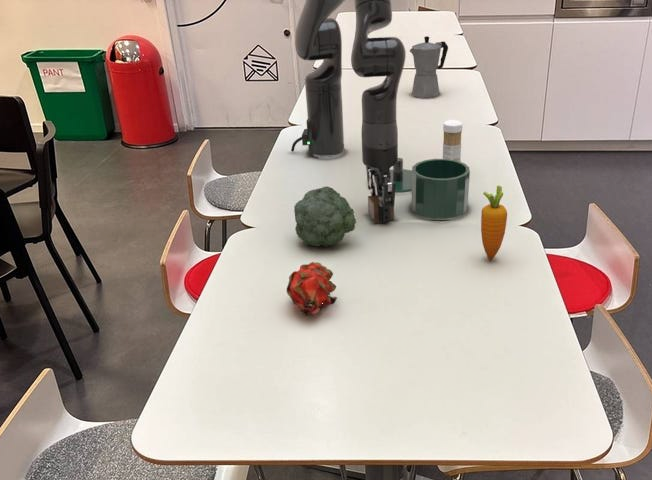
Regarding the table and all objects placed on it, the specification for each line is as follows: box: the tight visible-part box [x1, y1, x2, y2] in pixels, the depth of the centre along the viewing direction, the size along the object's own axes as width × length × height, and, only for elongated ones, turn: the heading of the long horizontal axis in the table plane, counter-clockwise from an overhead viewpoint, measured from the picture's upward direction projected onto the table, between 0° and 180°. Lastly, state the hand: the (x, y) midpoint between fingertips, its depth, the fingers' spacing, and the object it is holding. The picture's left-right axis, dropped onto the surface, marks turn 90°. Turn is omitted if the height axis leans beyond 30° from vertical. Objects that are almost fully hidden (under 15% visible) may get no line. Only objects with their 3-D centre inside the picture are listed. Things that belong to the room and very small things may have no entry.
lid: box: [390, 157, 412, 193], centre depth 171 cm, size 14×14×6 cm
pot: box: [411, 158, 471, 222], centre depth 157 cm, size 13×13×10 cm
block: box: [367, 195, 395, 224], centre depth 156 cm, size 5×5×5 cm
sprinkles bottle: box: [442, 119, 463, 162], centre depth 172 cm, size 5×5×14 cm
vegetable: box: [293, 185, 357, 248], centre depth 146 cm, size 12×13×15 cm
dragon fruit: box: [286, 261, 338, 317], centre depth 125 cm, size 8×8×12 cm
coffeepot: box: [409, 36, 449, 99], centre depth 230 cm, size 15×9×18 cm, turn 125°
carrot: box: [480, 185, 508, 261], centre depth 136 cm, size 5×5×15 cm
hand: (381, 216), depth 157 cm, fingers open, 5 cm apart
